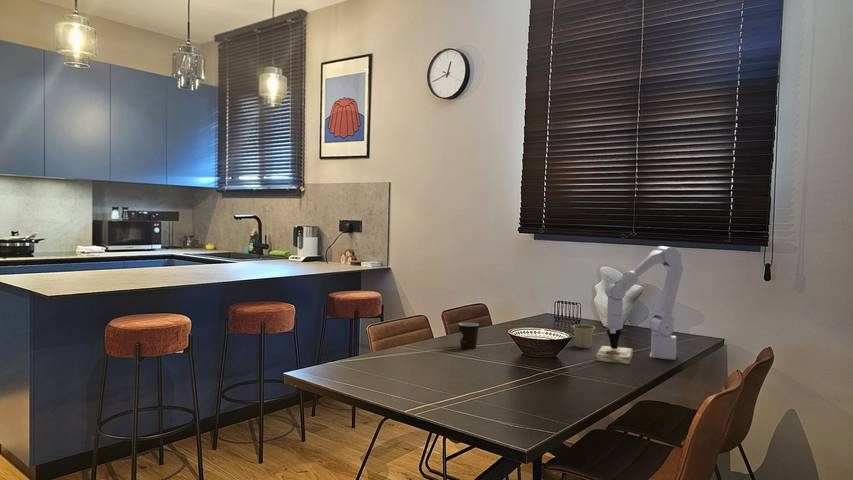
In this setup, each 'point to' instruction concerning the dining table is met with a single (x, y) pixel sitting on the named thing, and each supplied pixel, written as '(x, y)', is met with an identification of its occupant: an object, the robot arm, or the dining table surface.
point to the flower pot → (583, 335)
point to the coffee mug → (468, 335)
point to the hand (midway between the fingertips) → (614, 348)
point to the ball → (613, 352)
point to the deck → (622, 356)
